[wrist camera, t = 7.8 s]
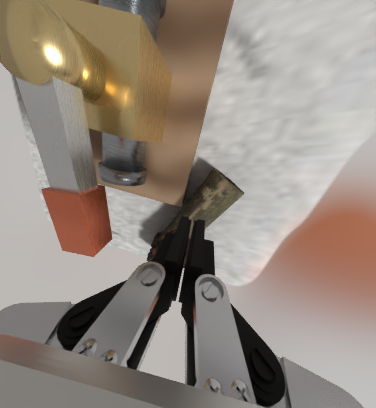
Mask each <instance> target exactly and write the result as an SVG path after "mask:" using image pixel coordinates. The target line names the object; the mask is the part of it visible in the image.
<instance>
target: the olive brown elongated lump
mask: <svg viewBox="0 0 376 408" xmlns="http://www.w3.org/2000/svg"><path fill="white" fill-rule="evenodd" d="M243 194H244V192H243V191H242V190H241V189H240V188H238V187H237V186H236V185H235V184H234V183H233V182H232V181H231V180H230V179H229V178H227V177H226V176H225V175H224V174H222V173H221V172H220V171H218V170H217V169H215V168H214V169H213V170H212V172H211V173H210V175H209V176H208V177H207V179H206V180H205V181H204V183H203V184H202V185H201V186H200V188H199V189H198V190H197V192H196V193H195V194H194V196H193V197H192V198H191V199H190V201H189V202H188V203H187V204H186V206H185V207H184V208H183V209H182V210H181V212H180V213H179V214H178V215H177V217H176V218H175V219H174V220H173V221H172V223H171V224H170V225H169V226H168V227H167V229H166V230H165V231H163V232H162V233H157V234H156V235H155V237H154V240H153V243H152V245H151V247H152V248H151V249H150V252H149V253H148V257H147V261H148V262H152V261H153V259H154V257H155V255H156V252H157V250H158V248H159V246H160V244H161V242H162V240H163V238H164V236H165V234H166V232H171V233H175V232H176V229H177V227H178V224H179V221H180V219H181V216H185V217H189V219H190V220H192V222H191V227H190V233H189V239H188V245H187V250H186V255H185V260H184V264H183V268H185V264H186V259H187V254H188V249H189V244H190V239H191V234H192V229H193V224H194V220H195V221H197V219H201V220H205V229H206V228H207V227H208V226H209V225H210V224H211V223H212V222H213V221H214V220H215V219H217V218H218V217H219V216H220V215H221V214H222V213H223V212H224V211H225V210H227V209H228V208H229V207H230V206H231V205H232V204H233V203H235V202H236V201H237V200H238V199H239V198H240V197H241V196H242V195H243Z"/></svg>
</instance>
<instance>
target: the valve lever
mask: <svg viewBox="0 0 376 408" xmlns="http://www.w3.org/2000/svg"><path fill="white" fill-rule="evenodd" d="M0 62H1V63H2V64H3V65H4V67H5V68H6V69H7V70H8V71H9V72H10V73H12V74H13V75H14V76H15V77H16V80H17V84H18V87H19V90H20V93H21V96H22V99H23V103H24V106H25V109H26V112H27V115H28V118H29V121H30V125H31V128H32V131H33V134H34V137H35V140H36V144H37V147H38V150H39V153H40V156H41V159H42V163H43V166H44V169H45V172H46V175H47V178H48V182H49V185H50V187H49V188H45V189H41V190H42V193H43V196H44V198H45V201H46V204H47V207H48V210H49V213H50V216H51V219H52V221H53V224H54V227H55V230H56V233H57V236H58V239H59V242H60V245H61V247H62V250H63V251H68V252H72V253H77V254H82V255H86V256H91V257H94V256H95V255H96V254H97V253H98V252H99V251H100V250H101V249H102V248H103V247H104V246H105V245H106V244H107V243H109V242H110V241H111V240H112V234H111V227H110V220H109V213H108V206H107V199H106V192H105V186H101V185H98V184H97V178H96V172H95V166H94V160H93V154H92V148H91V142H90V135H89V129H88V123H87V117H86V111H85V105H84V102H94V101H96V100H97V99H99V98H100V96H101V95H102V93H103V91H104V89H105V84H106V71H105V66H104V63H103V60H102V58H101V56H100V54H99V52H98V50H97V49H96V48H95V46H94V45H93V44H92V43H91V42H90V41H89V40H87V39H86V38H85V37H84V36H83V35H82V34H81V33H79V32H78V31H77V30H76V29H75V28H74V27H73V26H71V25H70V24H69V23H68V22H67V21H66V20H65V19H63V18H62V17H61V16H60V15H59V14H58V13H56V12H55V11H54V10H53V9H52V8H51V7H50V6H48V5H47V4H46V3H45V2H44V1H43V0H0Z"/></svg>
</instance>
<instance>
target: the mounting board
mask: <svg viewBox="0 0 376 408" xmlns="http://www.w3.org/2000/svg"><path fill="white" fill-rule="evenodd" d="M79 1H83V2H88V3H92V4H96V5H99V4H98V0H79ZM233 1H234V0H167V2H166V10H165V14H164V16H163V17H162V18H161V19H159V28H158V38H157V47H158V49H159V51H160V53H161V54H162V56H163V58H164V60H165V62H166V64H167V66H168V68H169V70H170V72H171V74H172V81H171V88H170V95H169V101H168V108H167V115H166V122H165V128H164V135H163V142H151V141H147V144H146V154H145V164H144V168H146V169H147V177H146V183H144V184H143V185H139V186H120V185H114V184H110V183H107V182H104V181H102V180H101V179H100V178H99V173H98V163H99V162H101V161H102V132H101V131H97V130H94V129H90V128H88V129H89V135H90V142H91V148H92V154H93V160H94V166H95V172H96V178H97V183H98V184H101V185H105V186H108V187H112V188H115V189H119V190H122V191H126V192H129V193H133V194H136V195H140V196H143V197H147V198H150V199H154V200H157V201H161V202H164V203H168V204H171V205H175V206H178V207H181V206H182V204H183V201H184V197H185V193H186V189H187V185H188V181H189V177H190V173H191V169H192V165H193V161H194V157H195V153H196V149H197V145H198V141H199V137H200V133H201V129H202V125H203V121H204V117H205V113H206V109H207V105H208V101H209V97H210V93H211V89H212V85H213V81H214V77H215V73H216V69H217V65H218V61H219V57H220V53H221V49H222V45H223V41H224V37H225V33H226V29H227V25H228V21H229V17H230V13H231V9H232V5H233Z"/></svg>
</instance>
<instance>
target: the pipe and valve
mask: <svg viewBox="0 0 376 408" xmlns="http://www.w3.org/2000/svg"><path fill="white" fill-rule="evenodd" d="M43 1H44V2H45V3H46V4H47V5H48V6H50V7H51V8H52V9H53V10H54V11H55V12H56V13H58V14H59V15H60V16H61V17H62V18H63V19H65V20H66V21H67V22H68V23H69V24H70V25H71V26H73V27H74V28H75V29H76V30H77V31H78V32H79V33H81V34H82V35H83V36H84V37H85V38H86V39H87V40H89V41H90V42H91V43H92V44H93V45H94V46H95V48H96V49H97V50H98V52H99V54H100V56H101V58H102V60H103V63H104V66H105V71H106V84H105V89H104V91H103V93H102V95H101V96H100V98H99V99H97V100H96V101H94V102H84V105H85V111H86V117H87V123H88V128H90V129H94V130H97V131H101V132H102V161H101V162H99V163H98V173H99V178H100V179H101V180H102V181H104V182H107V183H110V184H114V185H120V186H139V185H143V184H144V183H146V177H147V169H146V168H144V164H145V154H146V144H147V141H151V142H163V135H164V128H165V122H166V115H167V108H168V101H169V95H170V88H171V81H172V74H171V72H170V70H169V68H168V66H167V64H166V62H165V60H164V58H163V56H162V54H161V53H160V51H159V49H158V47H157V38H158V28H159V19H161V18H162V17H163V16H164V14H165V10H166V2H167V0H98V4H99V5H96V4H92V3H88V2H83V1H79V0H43Z"/></svg>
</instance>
